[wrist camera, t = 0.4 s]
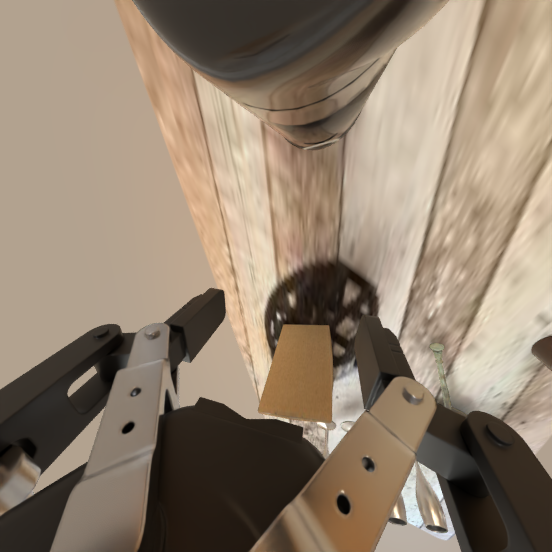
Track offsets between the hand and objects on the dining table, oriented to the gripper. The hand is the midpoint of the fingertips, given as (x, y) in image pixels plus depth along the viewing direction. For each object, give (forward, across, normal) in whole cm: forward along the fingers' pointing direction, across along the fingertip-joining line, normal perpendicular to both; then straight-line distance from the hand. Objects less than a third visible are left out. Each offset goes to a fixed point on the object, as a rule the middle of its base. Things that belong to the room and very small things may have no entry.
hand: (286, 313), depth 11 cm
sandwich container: (+19, -2, +23) cm, 30 cm away
